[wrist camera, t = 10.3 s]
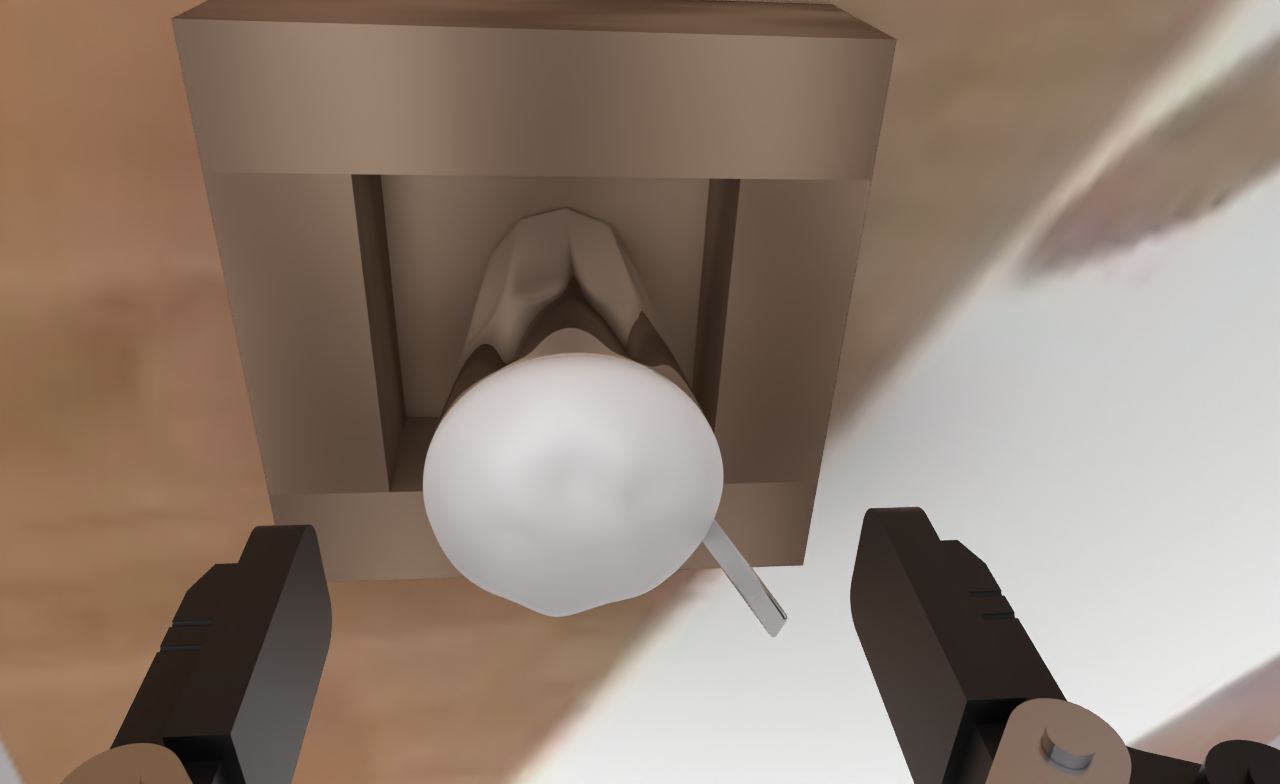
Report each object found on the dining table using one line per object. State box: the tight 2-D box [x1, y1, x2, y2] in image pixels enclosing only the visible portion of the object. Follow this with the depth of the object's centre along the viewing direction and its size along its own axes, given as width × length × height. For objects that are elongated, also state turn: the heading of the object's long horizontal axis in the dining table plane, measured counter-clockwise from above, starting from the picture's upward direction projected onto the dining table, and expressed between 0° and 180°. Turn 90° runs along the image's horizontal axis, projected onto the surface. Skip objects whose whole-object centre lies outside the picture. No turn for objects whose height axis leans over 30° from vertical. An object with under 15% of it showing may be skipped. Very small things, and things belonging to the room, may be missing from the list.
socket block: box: [171, 0, 896, 582], centre depth 20 cm, size 12×12×4 cm
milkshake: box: [423, 208, 787, 637], centre depth 17 cm, size 4×5×10 cm
